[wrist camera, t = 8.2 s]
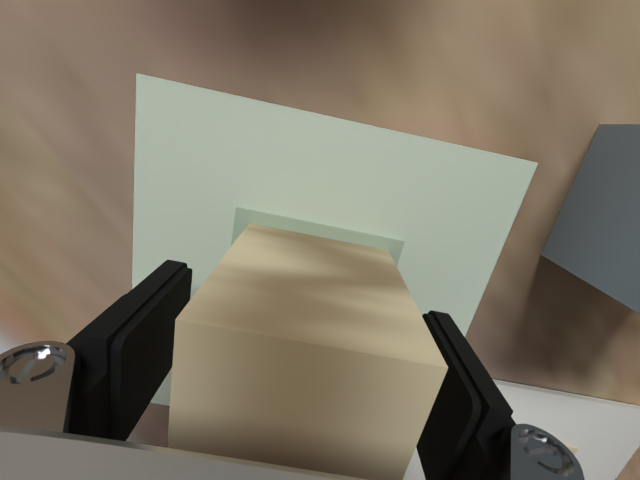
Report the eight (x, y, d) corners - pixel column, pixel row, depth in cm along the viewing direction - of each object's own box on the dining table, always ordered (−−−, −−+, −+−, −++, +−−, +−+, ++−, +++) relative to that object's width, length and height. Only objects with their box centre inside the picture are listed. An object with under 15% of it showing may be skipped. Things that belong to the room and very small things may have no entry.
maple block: (388, 250, 12) (448, 367, 6) (355, 362, 13) (378, 538, 8) (249, 223, 11) (175, 319, 6) (232, 341, 13) (162, 506, 7)
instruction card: (656, 408, 16) (664, 415, 15) (578, 517, 18) (584, 526, 18) (434, 368, 15) (437, 374, 15) (386, 487, 18) (387, 495, 17)
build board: (517, 159, 12) (540, 163, 11) (411, 425, 16) (418, 449, 15) (155, 78, 11) (134, 72, 10) (144, 379, 15) (128, 401, 14)
